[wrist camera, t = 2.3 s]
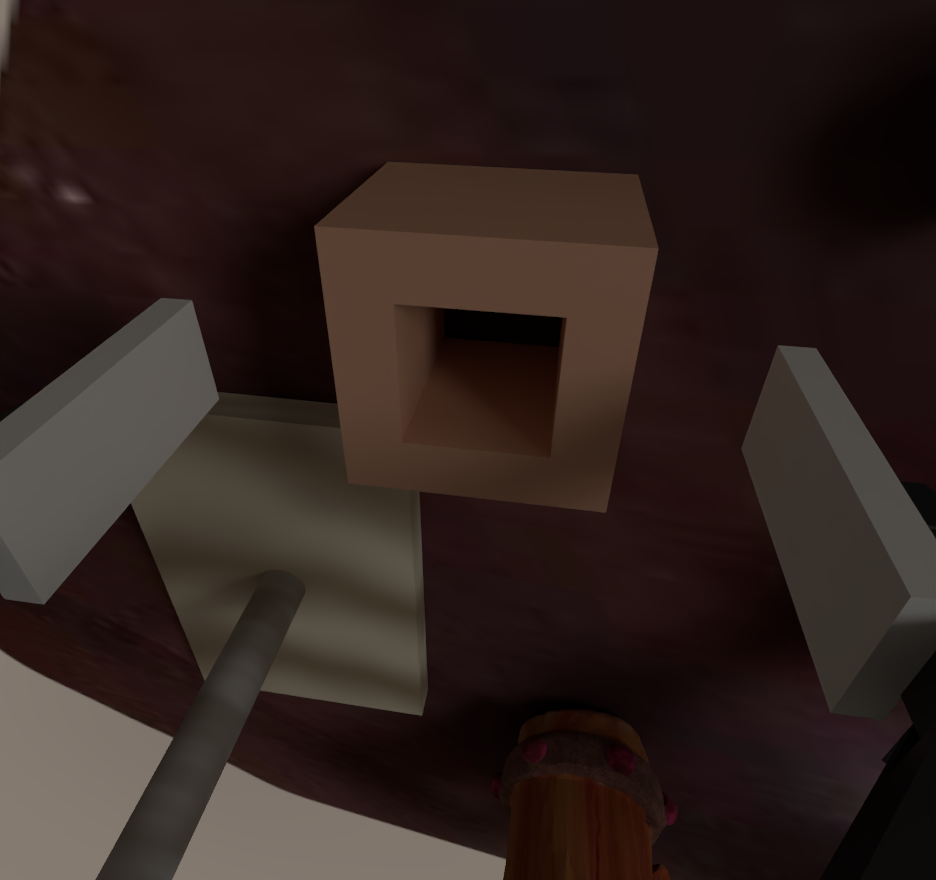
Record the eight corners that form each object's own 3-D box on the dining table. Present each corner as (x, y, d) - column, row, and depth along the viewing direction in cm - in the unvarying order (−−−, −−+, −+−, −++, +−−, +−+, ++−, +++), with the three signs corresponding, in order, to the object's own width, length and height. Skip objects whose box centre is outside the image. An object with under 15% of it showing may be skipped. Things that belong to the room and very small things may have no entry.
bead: (601, 392, 21) (605, 512, 16) (400, 374, 22) (348, 483, 17) (638, 174, 17) (658, 248, 12) (387, 161, 18) (314, 226, 13)
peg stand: (427, 689, 33) (351, 1025, 22) (218, 657, 35) (52, 959, 24) (415, 411, 23) (260, 796, 12) (113, 381, 24) (-272, 702, 13)
